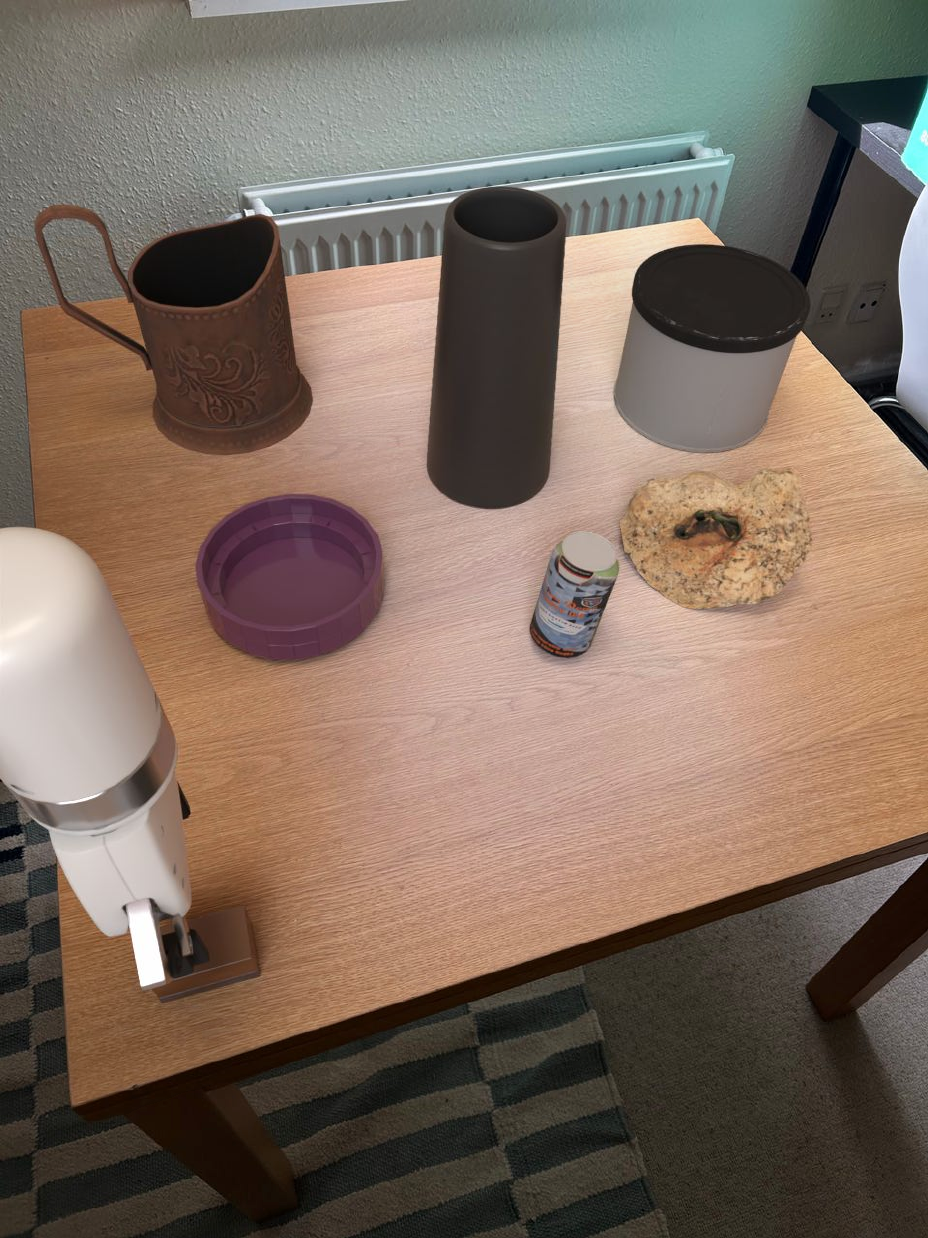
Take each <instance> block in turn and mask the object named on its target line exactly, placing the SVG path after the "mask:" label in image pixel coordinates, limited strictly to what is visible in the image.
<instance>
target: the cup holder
mask: <svg viewBox="0 0 928 1238" xmlns="http://www.w3.org/2000/svg"><path fill="white" fill-rule="evenodd" d="M60 219H62V220H63V219H71V220H72V219H73V220H80V221H83V222H87V223H88V224H90V225H91V226H93V227H94V228H96V230H97V231H98V232H99V233H100V235H101V236H102V239H103V244H104V247H105V251H106V254H107V258H108V261H109V265H110V268H111V272H112V274H113V275H114V277H115V279H116V280H117V282H118V283H119V285H120V286H121V288H122V290H123V292H124V294H125V297H126V300H127V303H128V304H132V305H133V306H134V311H135V313H136V317H137V318H136V319H137V321H138V324H139V329H140V331H141V336H142V339H143V343H144V345H142V344H140V343H139V342H137V341H136V340H134V339H133V338H131V337H129V336H127V335H126V334H124V333H122V332H120V331H119V330H117V329H115V328H114V327H112V326H110V325H108V324H107V323H105V322H104V321H101V320H100V319H98V318H96V317H95V316H93V315H91V314H90V313H88V312H86V311H85V310H82V309H81V308H79V307H78V306H76V305H74V304H73V303H71V302H70V301H69V300H68V299H67V298H66V297H65V295H64V293H63V290H62V287H61V284H60V281H59V277H58V275H57V272H56V268H55V266H54V262H53V260H52V256H51V253H50V250H49V248H48V245H47V242H46V239H45V236H44V233H43V230H44V228H45V227H46V225H48V224H49V223H50V222H51V221H53V220H60ZM33 224H34V232H35V240H36V243H37V246H38V249H39V251H40V254H41V256H42V259H43V262H44V265H45V268H46V270H47V273H48V276H49V279H50V281H51V284H52V287H53V290H54V292H55V295H56V298H57V301H58V304H59V307H60V308H61V310H62V311H63V312H64V313H65V314H66V315H67V316H69V317H71V318H72V319H73V320H76V321H78V322H80V323H81V324H82V325H84V326H86V327H88V328H90V329H91V330H94V332H97V333H99V334H101V335H102V336H104V337H105V338H107V339H109V340H111V341H113V342H114V343H116V344H117V345H120V346H122V347H124V348H125V349H127V350H129V351H130V352H132V353H134V354H136V355H138V356H139V357H140V358H141V360H142V362H143V364H144V367H145V371H152V374H153V377H154V381H155V384H156V386H155V387H156V390H155V393H156V394H155V396H154V399H153V401H152V418H153V421H154V423H155V425H156V427H157V429H158V431H160V432H161V434H163V435H164V437H166V439H168V440H169V441H171V442H172V443H174V444H176V445H178V446H180V447H181V448H184V449H186V450H190V451H194V452H198V453H202V454H206V455H209V454H210V455H221V456H227V455H236V454H247V453H251V452H254V451H258V450H262V449H265V448H269V447H271V446H272V445H275V444H277V443H279V442H280V441H282V440H284V439H287V438H288V437H289V436H290V435H292V434H293V433H295V431H296V430H298V429H299V428H300V427H302V425H303V423H304V422H305V421H306V419H307V418H308V416H309V415H310V413H311V409H312V405H313V402H314V398H313V397H314V396H313V391H312V387H311V385H310V383H309V382H308V381H307V378H306V377H305V375H303V373H301V370H300V368H299V367H298V365H297V358H296V357H297V356H296V350H295V342H294V336H293V328H292V320H291V313H290V305H289V297H288V289H287V282H286V275H285V268H284V261H283V260H284V259H283V252H282V245H281V237H280V232H279V230H280V229H279V226H278V224H277V223H276V222H275V220H274V219H273V218H272V216H269V215H265V214H264V213H263V214H262V213H257V214H253V215H247V216H243V217H239V218H236V219H233V220H228V221H224V222H218V223H213V224H207V225H202V226H196V227H190V228H186V229H185V228H184V229H181V230H176V231H173V232H170V233H167V234H165V235H162V236H159V237H157V238H156V239H154V240H153V241H151V242H150V243H148V244H147V245H146V246H143V248H142V249H141V250H140V251H139V253H137V255H136V256H135V257H134V259H133V260H132V263H131V265H130V267H129V269H128V271H127V277H126V276H125V273H123V271H122V269H121V267H120V266H119V264H118V262H117V259H116V254H115V251H114V248H113V245H112V242H111V238H110V235H109V232H108V229H107V225H106V223H105V222H104V221H103V219H102V218H101V217H100V216H99V215H98V214H97V213H95V212H94V211H93V210H91V209H89V208H87V207H84V206H80V205H75V204H74V205H72V204H54V205H48V207H46V208H45V209H43V210H41V211H39V213H38V214H37V216H36V217H35V219H34V220H33Z"/></svg>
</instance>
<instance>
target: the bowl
mask: <svg viewBox="0 0 928 1238" xmlns="http://www.w3.org/2000/svg"><path fill="white" fill-rule="evenodd" d="M383 556H384V554H383V548H382V544H381V541H380V537H379V534H378V533H377V532H376V530H375V529H374V527H373V526H372V525H371V523H370V521H369V520H368V519H367V518H366V517H364V515H362V514H361V513H359V511H357V510H355V509H354V508H353V507H352V506H349V505H347V504H345V503H344V502H341V501H339V500H337V499H333V498H330V497H326V496H322V495H316V494H311V493H310V494H309V493H308V494H307V493H286V494H279V495H273V496H267V497H263V498H260V499H258V500H257V499H256V500H254V501H252V502H249V503H246V504H243V505H242V506H239V507H238V508H237V509H235V510H233V511H231V512H230V513H229V514H226V515H225V516H224V517H223V518H222V519H221V520H219V521H218V523H217V524H215V525H214V526H213V527H212V528H211V529H210V530H209V532H208V533H207V535H206V536H205V538H204V540H203V541H202V543H201V545H200V546H199V549H198V553H197V557H196V560H195V576H196V583H197V587H198V590H199V593H200V597H201V600H202V604H203V607H204V610H205V613H206V615H207V618H208V619H209V621H210V623H211V625H212V627H213V629H214V630H215V632H216V633H218V635H220V636H221V637H222V638H223V639H224V641H226V642H227V643H229V644H230V645H231V646H233V647H235V648H237V649H239V650H240V651H243V653H244V652H245V653H246V654H248V655H252V656H257V657H260V658H264V659H269V660H280V661H281V660H282V661H285V660H287V661H296V660H297V661H298V660H303V659H308V658H312V657H313V658H315V657H319V656H322V655H325V654H328V653H330V652H333V651H334V650H337V649H339V648H342V647H344V646H345V645H347V644H348V643H350V642H351V641H352V640H354V639H355V638H357V637H359V636H360V635H361V634H362V633H363V632H364V631H365V630H366V628H367V627H368V626H369V625H370V624H371V622H372V621H373V620H374V619H375V617H376V615H377V613H378V611H379V609H380V606H381V604H382V602H383V599H384V589H385V575H384V573H385V572H384V557H383Z"/></svg>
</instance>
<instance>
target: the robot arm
mask: <svg viewBox="0 0 928 1238" xmlns="http://www.w3.org/2000/svg"><path fill="white" fill-rule="evenodd" d="M178 755H179V748H178V740H177V737H176V735H175V732H174V729H173V727H172V725H171V723H170V720H169V719H168V715H167V713H166V711H165V709H164V707H163V704H162V702H161V701H160V698H159V696H158V693H157V692H156V690H155V687H154V685H153V683H152V680H151V679H150V676H149V674H148V672H147V669H146V668H145V665H144V663H143V661H142V659H141V656H140V655H139V652H138V650H137V648H136V646H135V644H134V641H133V639H132V637H131V634H130V633H129V630H128V628H127V625H126V623H125V620H124V618H123V617H122V613H121V612H120V610H119V607H118V606H117V603H116V601H115V599H114V597H113V595H112V591H111V590H110V588H109V586H108V583H107V581H106V579H105V578H104V576H103V574H102V572H101V570H100V568H99V566H98V565H97V563H96V562H95V561H94V559H93V558H92V557H91V556H90V555H89V554H88V553H87V552H86V550H84V549H83V548H82V547H80V546H79V545H78V544H77V543H76V542H73V540H70V539H69V538H67V537H65V536H64V535H61V534H59V533H56V532H53V531H49V530H45V529H41V528H37V527H29V526H28V527H27V526H8V527H1V528H0V780H1V781H2V783H3V784H4V785H5V787H6V788H7V789H8V790H9V792H10V793H11V794H12V795H13V797H14V798H15V799H16V800H17V802H18V803H19V804H20V805H21V806H22V808H23V809H24V810H25V811H26V814H28V816H30V818H32V819H33V820H34V821H35V822H36V823H37V824H38V825H40V826H41V827H43V828H44V829H46V830H48V833H49V837H50V841H51V842H50V843H51V845H52V848H53V850H54V853H55V857H56V858H57V861H58V863H59V866H60V867H61V871H62V872H63V874H64V877H65V878H66V880H67V882H68V884H69V885H70V888H71V889H72V891H73V892H74V894H75V896H76V897H77V899H78V901H79V902H80V904H81V905H82V907H83V909H84V910H85V911H86V913H87V915H88V916H89V917H90V919H91V920H92V921H93V923H94V924H95V926H96V927H97V929H99V931H101V933H103V935H105V936H107V937H109V938H112V937H118V936H122V935H123V936H124V935H126V934H127V933H128V930H129V933H130V937H131V942H132V947H133V952H134V959H135V963H136V968H137V973H138V979H139V985H140V988H141V990H142V992H144V993H145V992H148V991H151V990H152V989H155V988H158V987H161V986H165V985H168V984H169V983H170V982H171V981H172V980H173V979H176V978H180V977H183V976H187V975H189V974H191V973H192V972H193V971H194V968H193V967H194V966H197V965H201V964H204V963H207V962H209V961H210V957H209V951H208V949H207V948H206V946H205V944H204V943H203V941H202V939H201V938H200V936H199V935H198V933H197V931H196V930H194V929H189V928H188V924H187V921H186V920H187V917H186V914H187V913H188V912H189V910H190V909H191V906H192V904H193V903H192V887H191V879H190V878H191V877H190V869H189V860H188V850H187V843H186V833H185V825H184V820H187V819H189V818H190V816H191V814H192V812H191V807H190V806H191V805H190V804H189V801H188V800H187V798H186V795H185V793H184V791H183V789H182V787H181V786H180V783H179V781H178V779H177V772H176V769H177V763H178ZM166 920H171V921H172V922H171V923H172V924H173V926H174V929H175V932H172V933H168V934H165V935H161V931H160V927H161V926H160V922H162V921H166Z"/></svg>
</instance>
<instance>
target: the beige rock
mask: <svg viewBox="0 0 928 1238" xmlns="http://www.w3.org/2000/svg"><path fill="white" fill-rule="evenodd" d="M802 477H803V475H802V474H800V473H799V471H797V470H796V469H794V468H793V467H784V468H774V469H773V468H769V467H768V466H765V467H762V468H760V469H759V470H758V471H757V472H756V473H755V474H753V475H752V476H751V477H749V478H748V479H747V480H746V482H744V483H741V484H736V483H733V482H731V481H730V480H728V479H726V478H723V477H722V476H719V475H717V474H716V473H713V472H710V471H705V470H696V471H692V472H688V473H686V474H685V475H683V476H680V477H678V478H667V477H665V478H664V477H659V478H658V479H655V478H650V479H647V480H646V481H645V483H644V484H643V485H642V484H640V485H639V486H637V488H636V489H635V490H634V492H633V493H632V497H631V498H630V499H629V503H628V505H627V506H628V507H627V511H626V514H625V515H624V517H623V518H622V519H620V520H619V527H620V532H621V539H622V544H623V550H624V554H627V553H628V554H630V555H629V556H630V559H631V560H632V563H633V564H634V566H635V567H636V571H637V573H638V574H639V575H640V576H641V577H642V579H644V580H645V581H646V582H647V584H648V586H650V587H652V588H653V589H655V591H658V592H660V594H661V595H663V596H664V597H665V598H666V599H667V600H670V601H672V602H673V603H675V604H676V603H677V604H678V605H679V606H681V607H683V608H684V609H687V608H688V609H692V610H694V609H695V610H697V609H699V610H707V609H715V608H724V607H727V608H728V607H733V606H735V605H757V604H763V603H764V602H765V601H766V600H768V599H770V598H772V597H773V596H776V595H778V594H780V593H781V591H782V590H783V589H784V588H785V587H784V586H786V585H787V584H788V582H789V580H790V579H791V578H792V577H793V575H794V574H795V571H797V570H798V568H799V567H801V566H802V564H804V563H805V562H806V560H807V555H808V554H809V552H810V550H811V548H812V545H813V541H814V540H813V534H812V531H811V526H810V521H811V520H810V515H809V510H808V509H807V507H806V506H807V504H806V500H805V499H806V498H805V497H806V495H807V494H806V491H805V489H804V488H803V482H802V480H803V479H802Z"/></svg>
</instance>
